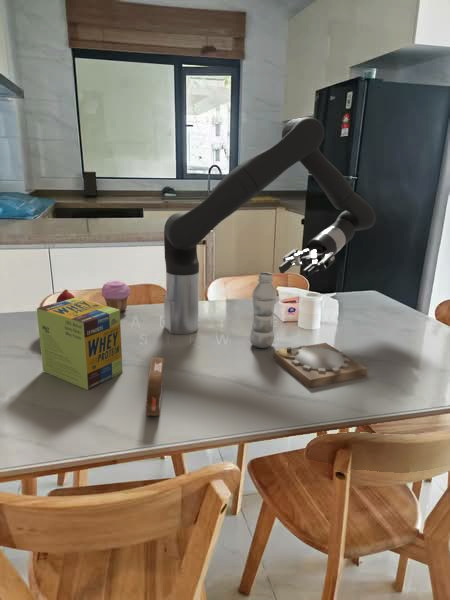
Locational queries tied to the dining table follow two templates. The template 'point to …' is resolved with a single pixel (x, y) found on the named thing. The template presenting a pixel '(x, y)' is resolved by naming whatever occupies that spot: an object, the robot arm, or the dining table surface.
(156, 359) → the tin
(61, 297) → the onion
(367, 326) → the dining table surface
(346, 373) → the gear board
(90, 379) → the protein box
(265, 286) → the plastic bottle
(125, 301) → the cupcake
